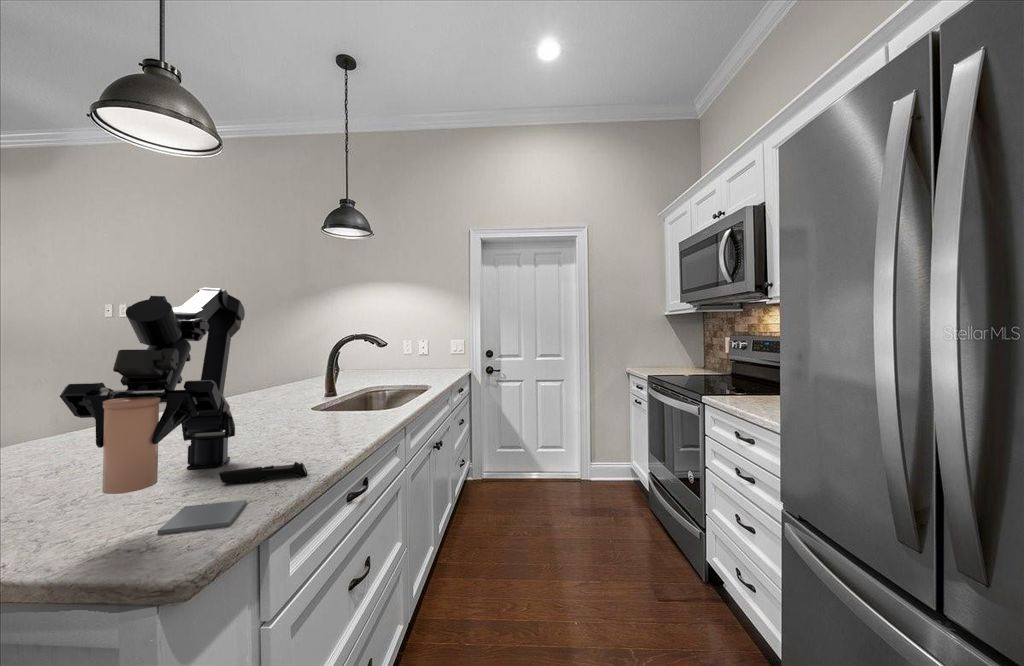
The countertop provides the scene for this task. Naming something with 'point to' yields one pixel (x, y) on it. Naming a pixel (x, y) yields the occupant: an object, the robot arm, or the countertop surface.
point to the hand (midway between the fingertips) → (126, 444)
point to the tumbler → (130, 444)
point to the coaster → (203, 517)
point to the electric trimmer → (263, 473)
